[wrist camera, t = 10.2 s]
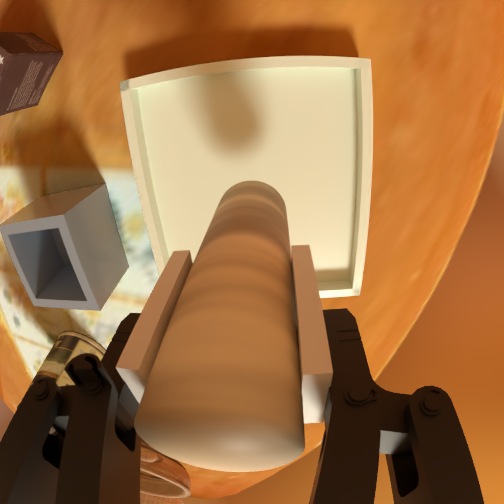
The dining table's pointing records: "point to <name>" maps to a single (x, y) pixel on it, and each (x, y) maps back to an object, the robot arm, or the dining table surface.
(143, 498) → the vase
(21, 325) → the dining table surface
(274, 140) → the tray
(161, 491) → the ceramic bowl
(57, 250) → the grey square bin
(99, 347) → the coffee can
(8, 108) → the box
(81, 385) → the robot arm
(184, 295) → the dowel
